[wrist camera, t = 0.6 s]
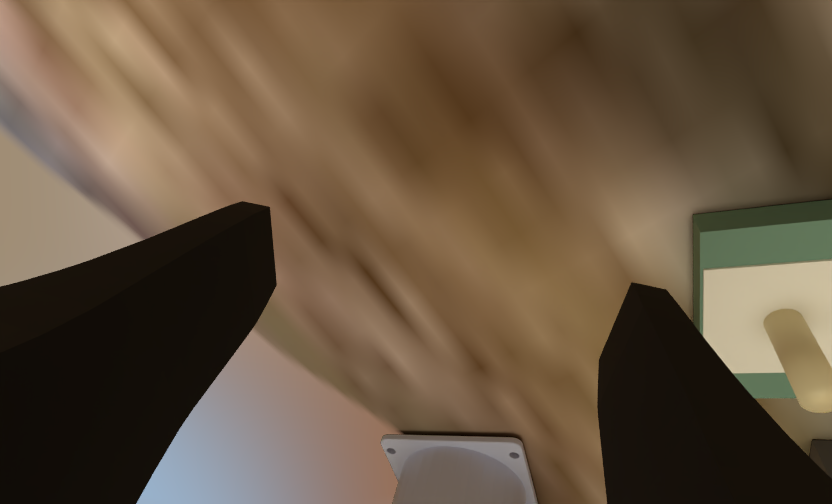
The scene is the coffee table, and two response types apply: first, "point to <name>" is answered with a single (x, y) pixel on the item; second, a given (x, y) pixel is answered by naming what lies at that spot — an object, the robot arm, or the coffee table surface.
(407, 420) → the coffee table surface
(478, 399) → the coffee table surface
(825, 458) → the block
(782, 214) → the green and cream box
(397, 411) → the coffee table surface
